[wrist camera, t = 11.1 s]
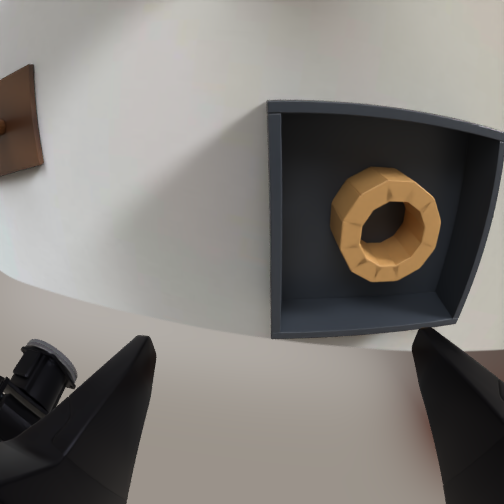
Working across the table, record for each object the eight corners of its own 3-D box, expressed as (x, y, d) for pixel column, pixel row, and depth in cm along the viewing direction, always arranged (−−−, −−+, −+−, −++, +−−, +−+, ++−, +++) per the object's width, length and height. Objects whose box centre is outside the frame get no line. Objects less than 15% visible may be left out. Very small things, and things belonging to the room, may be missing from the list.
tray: (435, 292, 22) (455, 324, 18) (270, 300, 23) (271, 339, 19) (470, 122, 15) (507, 133, 11) (266, 100, 16) (267, 100, 12)
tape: (410, 256, 20) (426, 279, 17) (326, 258, 20) (335, 284, 17) (425, 170, 16) (448, 184, 14) (333, 164, 17) (345, 178, 14)
